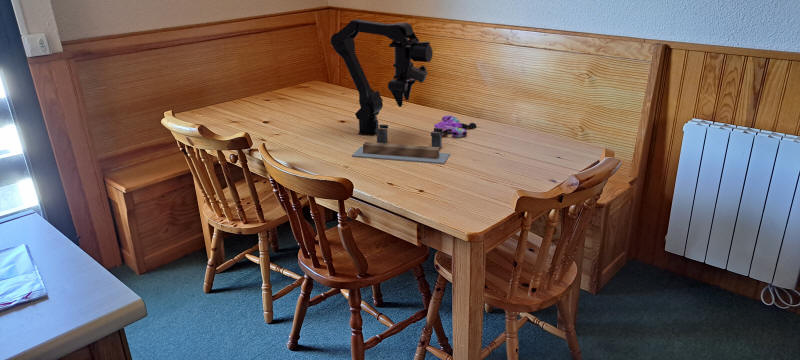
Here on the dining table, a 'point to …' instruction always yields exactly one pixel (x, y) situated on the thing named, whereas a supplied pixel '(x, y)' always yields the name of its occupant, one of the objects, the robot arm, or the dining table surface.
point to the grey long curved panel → (402, 157)
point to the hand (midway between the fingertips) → (403, 103)
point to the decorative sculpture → (453, 126)
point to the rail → (401, 150)
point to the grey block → (437, 137)
